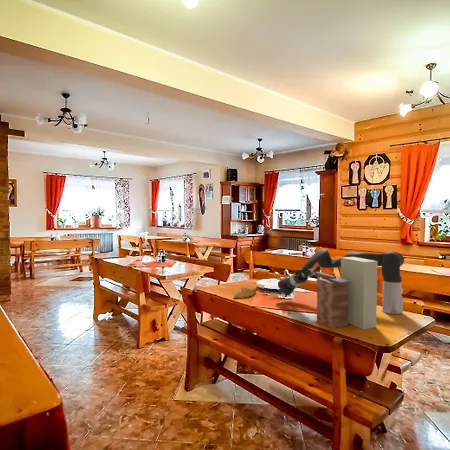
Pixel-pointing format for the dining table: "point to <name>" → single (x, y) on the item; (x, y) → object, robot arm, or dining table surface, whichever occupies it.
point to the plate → (262, 283)
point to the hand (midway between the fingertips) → (313, 268)
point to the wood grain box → (332, 303)
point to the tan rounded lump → (245, 292)
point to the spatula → (332, 278)
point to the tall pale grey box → (361, 290)
